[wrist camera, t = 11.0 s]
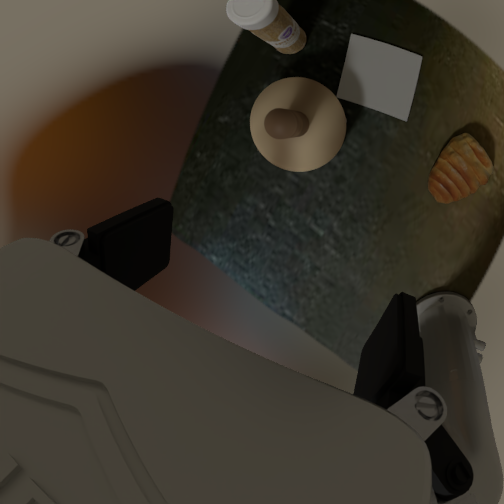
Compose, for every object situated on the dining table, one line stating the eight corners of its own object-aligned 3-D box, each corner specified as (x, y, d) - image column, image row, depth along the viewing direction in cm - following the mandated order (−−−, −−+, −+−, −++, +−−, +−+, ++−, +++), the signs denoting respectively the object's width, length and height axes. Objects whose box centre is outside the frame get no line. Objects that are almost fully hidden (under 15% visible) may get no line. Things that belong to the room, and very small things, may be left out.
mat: (421, 57, 25) (422, 56, 24) (406, 121, 29) (406, 121, 29) (351, 34, 27) (351, 33, 27) (336, 97, 31) (336, 97, 31)
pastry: (446, 213, 31) (453, 222, 28) (414, 173, 32) (418, 178, 28) (493, 167, 26) (504, 172, 23) (461, 125, 26) (470, 125, 23)
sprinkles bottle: (298, 59, 31) (259, 30, 20) (267, 47, 32) (216, 19, 20) (313, 31, 28) (280, -10, 17) (281, 20, 29) (235, -19, 18)
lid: (356, 92, 27) (352, 83, 21) (331, 183, 32) (320, 196, 27) (263, 70, 30) (238, 60, 24) (244, 155, 35) (217, 163, 29)
